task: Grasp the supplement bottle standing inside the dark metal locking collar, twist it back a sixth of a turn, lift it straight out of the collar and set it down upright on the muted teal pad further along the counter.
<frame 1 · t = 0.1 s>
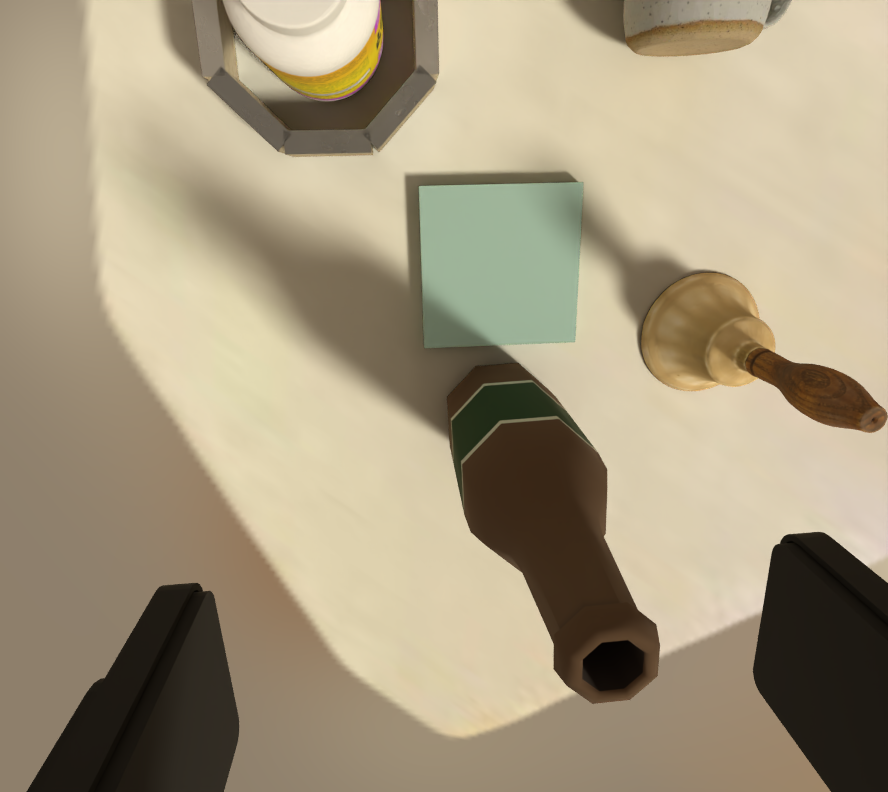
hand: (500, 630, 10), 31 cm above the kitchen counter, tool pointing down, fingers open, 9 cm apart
pad: (498, 266, 39), on the kitchen counter
collar: (324, 37, 34), on the kitchen counter
hand bell: (697, 332, 42), on the kitchen counter
beer bottle: (496, 409, 43), on the kitchen counter
supplement bottle: (324, 38, 34), resting in collar
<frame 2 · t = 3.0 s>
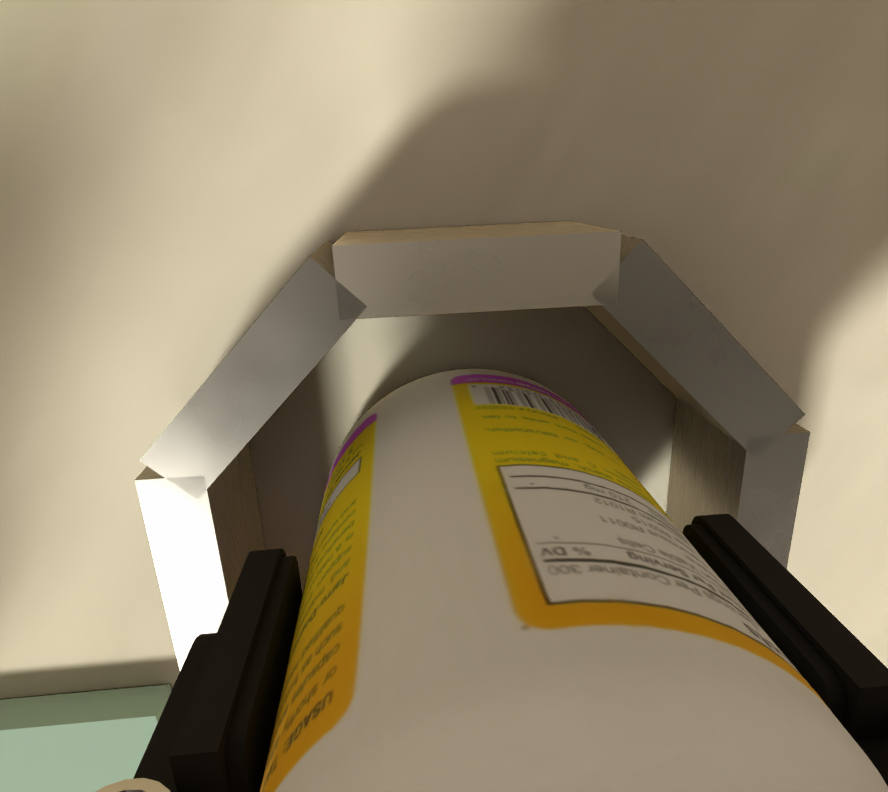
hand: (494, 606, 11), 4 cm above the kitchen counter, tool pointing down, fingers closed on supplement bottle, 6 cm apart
collar: (468, 491, 15), on the kitchen counter
supplement bottle: (467, 487, 15), resting in collar, touching gripper
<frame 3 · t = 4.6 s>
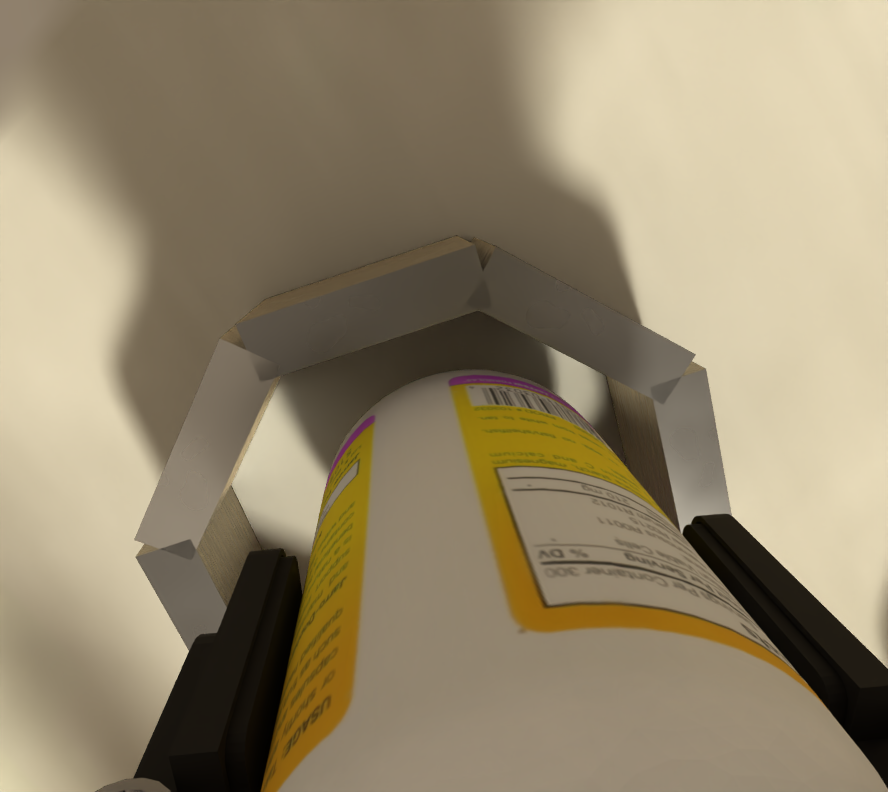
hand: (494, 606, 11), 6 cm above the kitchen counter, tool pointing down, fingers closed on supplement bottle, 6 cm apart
collar: (440, 492, 16), on the kitchen counter
supplement bottle: (466, 488, 15), point 1 cm above the kitchen counter, touching gripper
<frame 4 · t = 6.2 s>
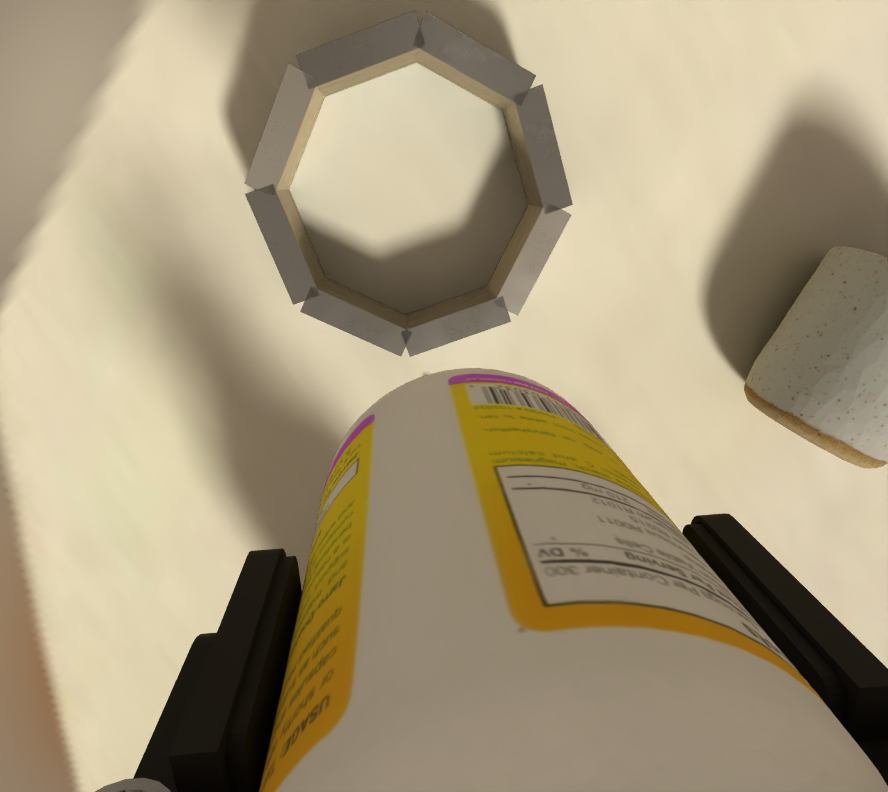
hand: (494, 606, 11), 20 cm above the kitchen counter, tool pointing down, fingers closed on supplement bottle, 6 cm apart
collar: (410, 197, 27), on the kitchen counter
ceramic mug: (829, 343, 32), on the kitchen counter
supplement bottle: (466, 487, 15), point 16 cm above the kitchen counter, touching gripper
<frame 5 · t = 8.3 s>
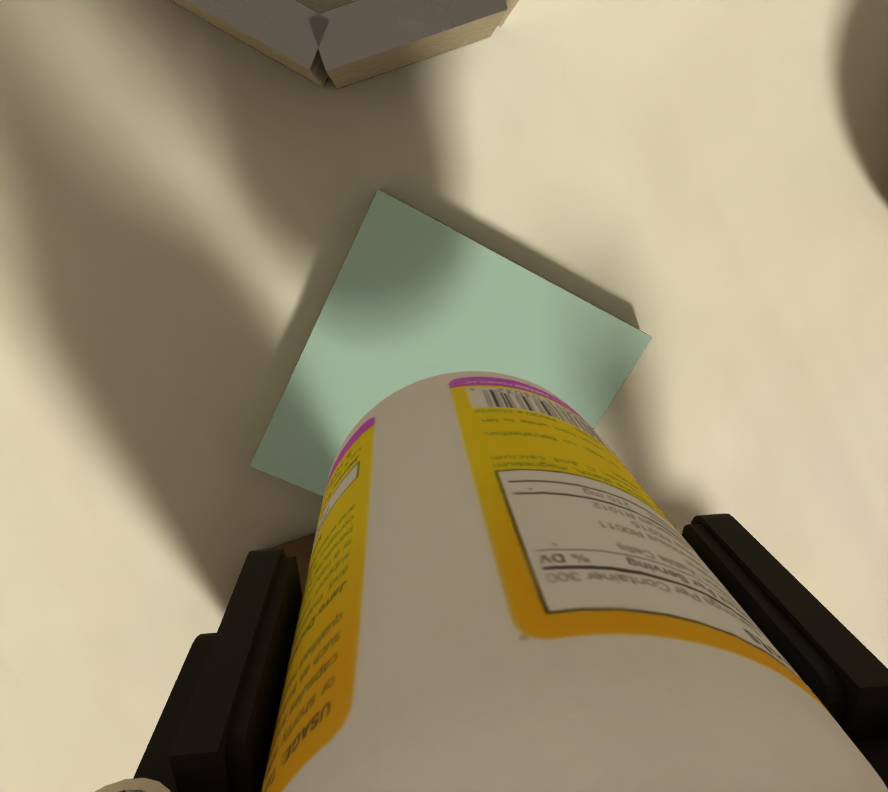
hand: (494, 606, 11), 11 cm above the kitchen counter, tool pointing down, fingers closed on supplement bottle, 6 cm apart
pad: (446, 392, 21), on the kitchen counter
beer bottle: (329, 604, 24), on the kitchen counter
supplement bottle: (466, 489, 15), point 7 cm above the kitchen counter, touching gripper
when the fingers open (7 cm above the kitchen counter, at t = 9.7 s): supplement bottle drops 1 cm, resting on pad.
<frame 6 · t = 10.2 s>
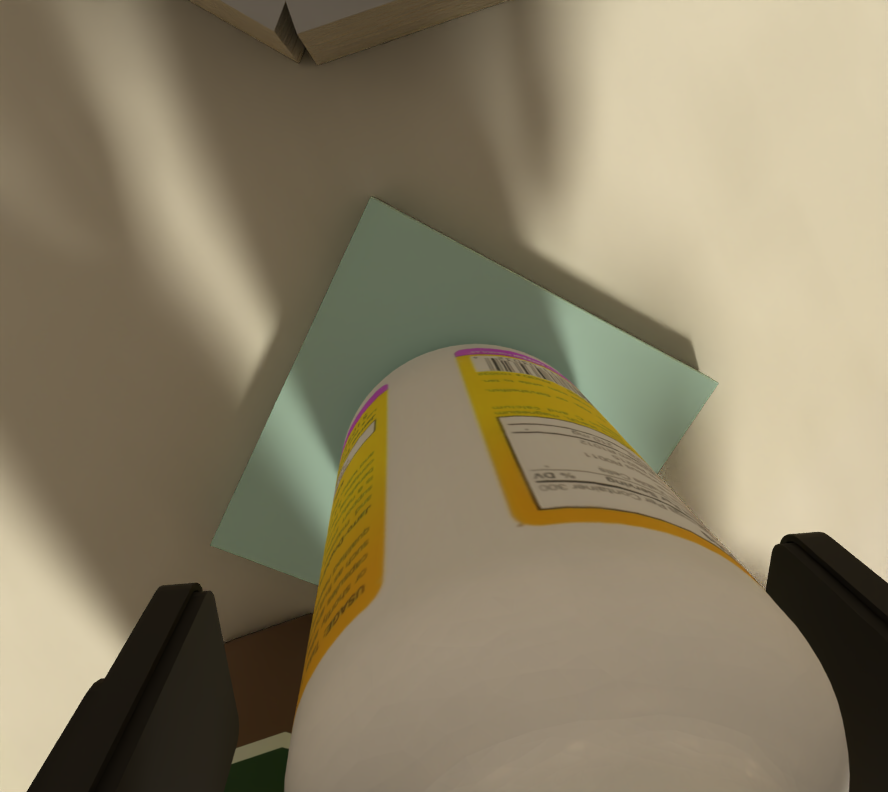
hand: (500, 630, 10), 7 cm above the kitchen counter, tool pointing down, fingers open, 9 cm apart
pad: (457, 449, 17), on the kitchen counter
beer bottle: (313, 700, 20), on the kitchen counter
supplement bottle: (469, 455, 16), point 1 cm above the kitchen counter, touching pad
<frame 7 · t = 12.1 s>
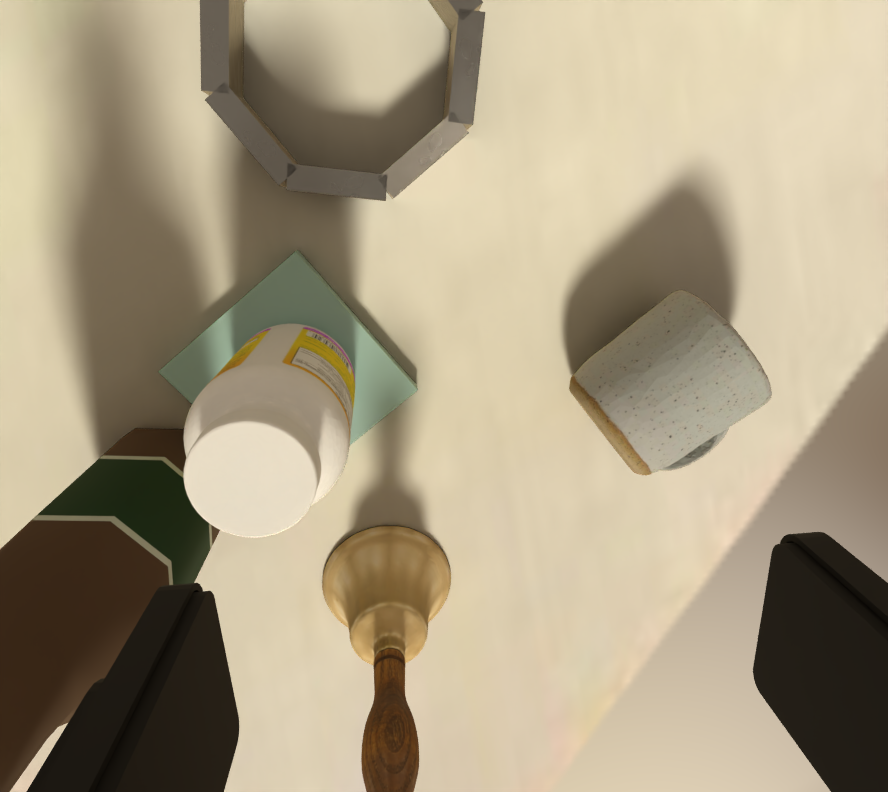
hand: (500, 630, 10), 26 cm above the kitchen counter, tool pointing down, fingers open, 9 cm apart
pad: (293, 376, 35), on the kitchen counter
collar: (347, 65, 30), on the kitchen counter
hand bell: (387, 579, 40), on the kitchen counter
beer bottle: (169, 480, 36), on the kitchen counter
ceramic mug: (649, 381, 37), on the kitchen counter
supplement bottle: (297, 378, 34), point 1 cm above the kitchen counter, touching pad
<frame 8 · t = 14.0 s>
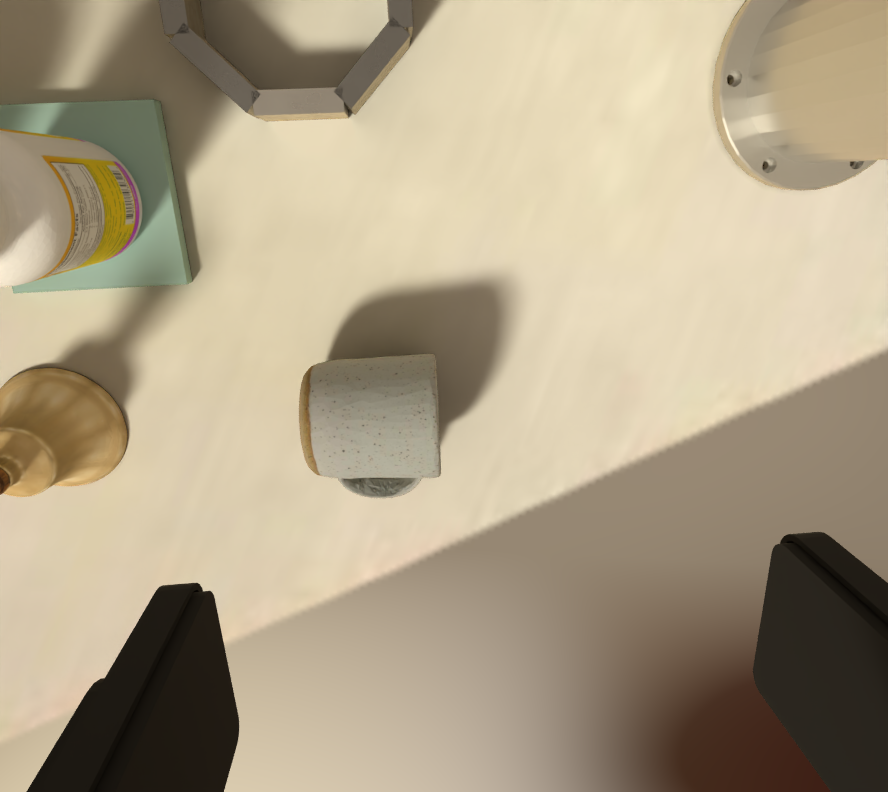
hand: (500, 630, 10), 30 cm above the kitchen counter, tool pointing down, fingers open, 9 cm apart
pad: (89, 199, 35), on the kitchen counter
hand bell: (63, 426, 40), on the kitchen counter
ceramic mug: (382, 415, 41), on the kitchen counter
supplement bottle: (88, 202, 34), point 1 cm above the kitchen counter, touching pad
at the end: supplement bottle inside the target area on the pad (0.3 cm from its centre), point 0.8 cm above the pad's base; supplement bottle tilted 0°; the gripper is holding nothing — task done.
